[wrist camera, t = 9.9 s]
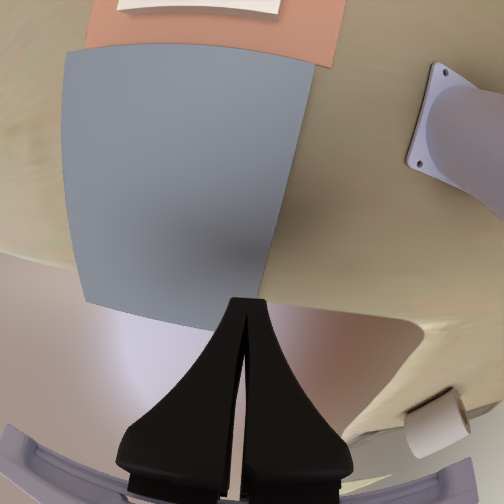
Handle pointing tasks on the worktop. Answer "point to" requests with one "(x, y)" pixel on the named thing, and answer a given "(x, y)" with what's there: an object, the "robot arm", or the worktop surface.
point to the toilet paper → (436, 424)
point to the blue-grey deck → (177, 172)
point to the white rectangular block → (204, 7)
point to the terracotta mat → (227, 29)
